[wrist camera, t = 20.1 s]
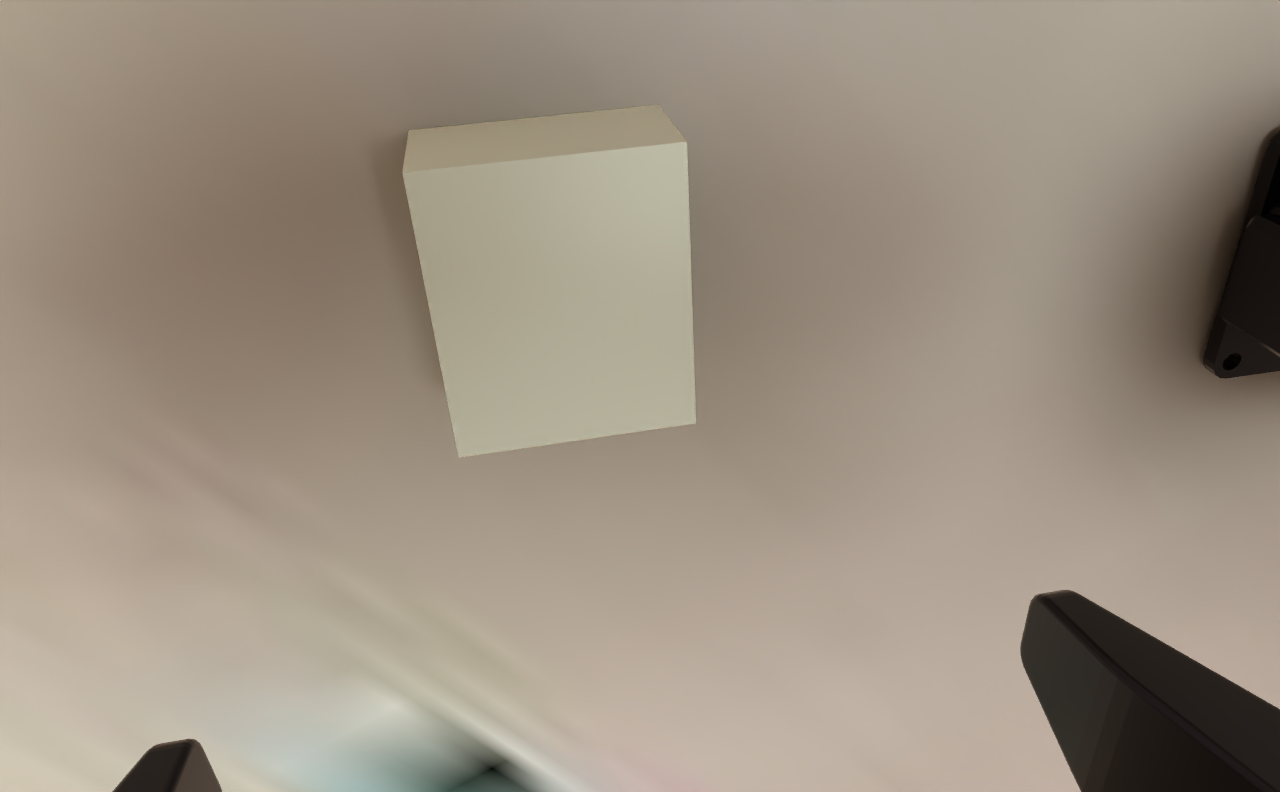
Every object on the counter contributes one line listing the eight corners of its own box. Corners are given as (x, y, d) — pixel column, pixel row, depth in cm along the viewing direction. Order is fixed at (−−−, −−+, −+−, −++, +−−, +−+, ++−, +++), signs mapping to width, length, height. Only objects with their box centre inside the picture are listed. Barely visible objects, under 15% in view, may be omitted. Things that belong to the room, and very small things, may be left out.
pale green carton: (656, 101, 19) (687, 141, 17) (668, 356, 22) (696, 423, 20) (408, 127, 18) (402, 172, 16) (457, 385, 22) (458, 457, 19)
